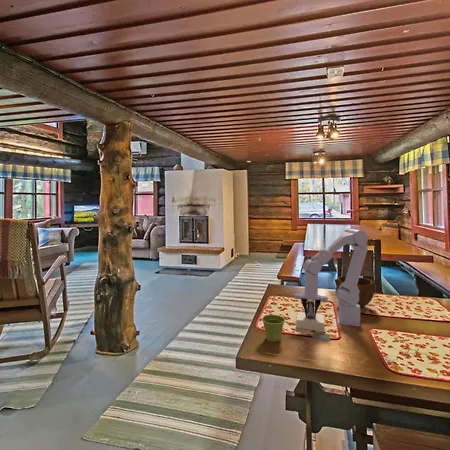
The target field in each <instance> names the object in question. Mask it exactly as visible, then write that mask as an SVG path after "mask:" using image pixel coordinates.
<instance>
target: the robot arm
mask: <svg viewBox="0 0 450 450" xmlns="http://www.w3.org/2000/svg"><path fill="white" fill-rule="evenodd" d="M368 241H369V235H368V234H367V232H366V231H365V230H362V229H353V228H346V229H345V230H344V231H342V232H341V233H340V235H339V236H338V238H337V239H335V240H334V241H333V242H332V243H331V244H330V245H329V246H328V247H327V248H322V249H319V250H318V252H317V253H316V254H315V255H314V256H311V257H310V259H306V260H305V261H304V263H303V265H302V268H303V271H304V293H294V300H298V299H299V300H300V302H301V304H302V307H303V310H304V313H305V315H306V316H307V302H308V301H314V317H316V314H318V313H317V312H318V309H319V307H320V305H321V303H322V302H325V303H328V302H329V296H325V295H320V294H318V293H319V292H318V289H319V288H318V287H319V273H321V271H322V268H323V267H324V265H326V264H327V263H328V262H330V260H332V258H333V255H334V254H335V253H337V252H338V251H340V250H341V249H342V248H343V247H344V246H346V245H350V246H351V248H352V249H353V251H352V257H351V260H350V262H349V267H348V269H347V273H346V275H345V276H346V279H345V282H343V283H342V284H340V287H339V289H338V290H337V292H336V291H335V296H336V298H337V299H338V316H337V317H336V319H337V324H339V325H344V326H345V325H346V326H354V327H361V325H360V324H361V307H360V305H357V303H358V302H359V292H360V291H359V289H358V287H357V284H358V280H359V277H360V278H361V274H362V273H361V272H362V271H363V266H364V263H365V259H366V257H367V253H368V249H369V248H368V247H369V246H368Z"/></svg>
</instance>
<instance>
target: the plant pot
mask: <svg viewBox="0 0 450 450" xmlns="http://www.w3.org/2000/svg"><path fill="white" fill-rule="evenodd" d="M261 320H262V322H263V327H264V333H265V339H266V341H268V342H271V343H275V342H276V343H277V342H280V341H281V340H282V334H283V327H284V324H285V322H286V318H285V317H283V316H282V315H279V314H266V315H264V316H262V318H261Z"/></svg>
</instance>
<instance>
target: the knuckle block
mask: <svg viewBox="0 0 450 450" xmlns="http://www.w3.org/2000/svg"><path fill="white" fill-rule="evenodd" d="M295 329H302V330H310V331H316V332H317V331H318V332H325V314H320V313H316V317H314V319H307V316H306V315H305V311H297V316H296V320H295Z"/></svg>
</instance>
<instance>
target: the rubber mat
mask: <svg viewBox="0 0 450 450" xmlns="http://www.w3.org/2000/svg"><path fill="white" fill-rule="evenodd" d="M312 340H316V341H323V342H331V334H330V333H323V332H319V331H318V332H317V331H312Z"/></svg>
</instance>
